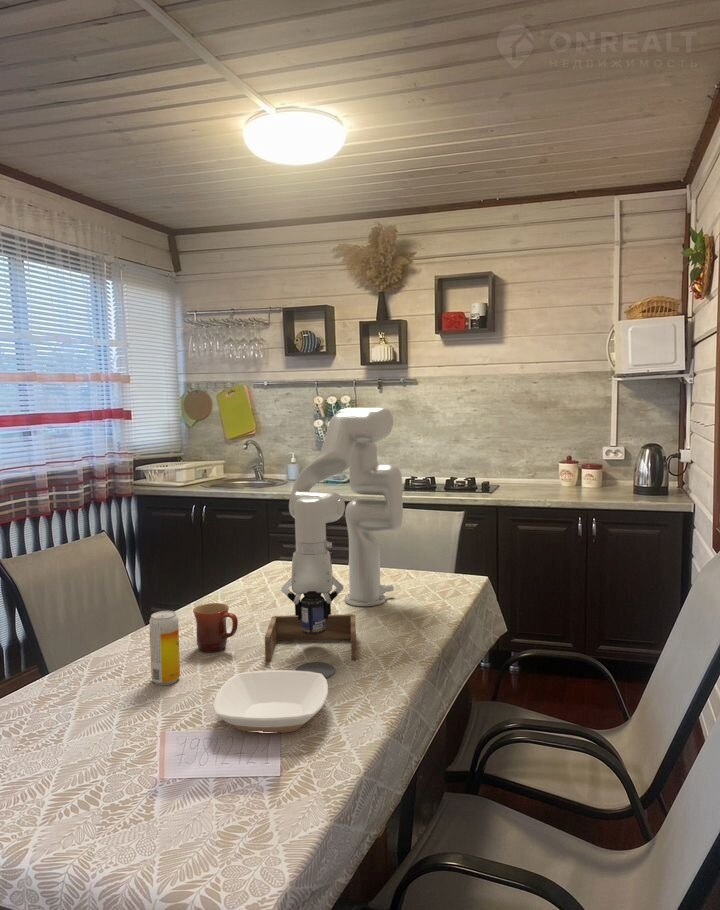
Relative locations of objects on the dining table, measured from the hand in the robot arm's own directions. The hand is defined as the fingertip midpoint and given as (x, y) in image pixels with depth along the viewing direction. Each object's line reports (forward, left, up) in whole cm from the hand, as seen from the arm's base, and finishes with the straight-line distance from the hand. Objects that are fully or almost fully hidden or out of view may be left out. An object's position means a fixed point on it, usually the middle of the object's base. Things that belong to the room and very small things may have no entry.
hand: (313, 617), depth 166 cm
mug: (+21, -12, -8) cm, 25 cm away
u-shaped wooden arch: (+1, +1, -8) cm, 8 cm away
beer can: (+37, 0, -8) cm, 38 cm away
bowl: (+24, +29, -8) cm, 38 cm away
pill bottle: (0, 0, -4) cm, 4 cm away
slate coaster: (+7, +14, -8) cm, 17 cm away
